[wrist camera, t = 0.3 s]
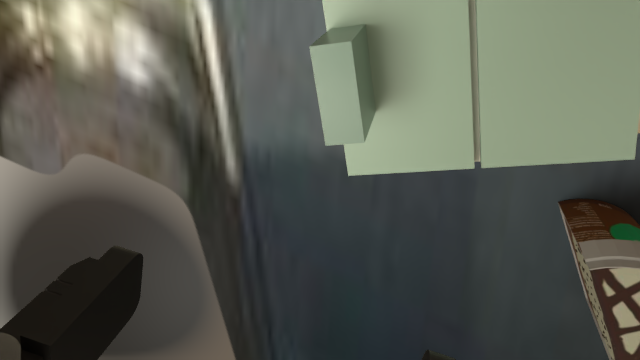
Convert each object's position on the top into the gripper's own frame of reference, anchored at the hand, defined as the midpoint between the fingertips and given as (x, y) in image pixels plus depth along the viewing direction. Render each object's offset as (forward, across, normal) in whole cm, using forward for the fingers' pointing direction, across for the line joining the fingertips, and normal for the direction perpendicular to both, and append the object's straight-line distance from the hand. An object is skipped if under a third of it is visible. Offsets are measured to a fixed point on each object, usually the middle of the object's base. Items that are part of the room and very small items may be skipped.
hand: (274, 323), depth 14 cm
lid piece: (+20, -1, -3) cm, 20 cm away
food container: (+26, -21, +7) cm, 34 cm away
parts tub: (+26, -5, -5) cm, 27 cm away
